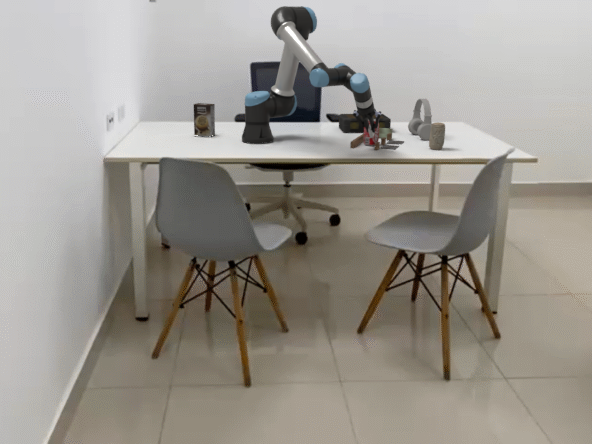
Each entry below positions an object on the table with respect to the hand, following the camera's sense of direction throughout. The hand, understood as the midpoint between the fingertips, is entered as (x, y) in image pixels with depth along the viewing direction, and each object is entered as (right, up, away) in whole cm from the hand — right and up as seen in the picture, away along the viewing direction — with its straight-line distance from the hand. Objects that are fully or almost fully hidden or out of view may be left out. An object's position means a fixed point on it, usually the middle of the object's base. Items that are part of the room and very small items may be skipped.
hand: (372, 135), depth 308 cm
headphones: (+28, +3, +28) cm, 40 cm away
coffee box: (-81, +3, +26) cm, 85 cm away
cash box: (+1, +9, +48) cm, 48 cm away
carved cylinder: (+29, -7, -2) cm, 30 cm away
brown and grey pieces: (+4, -3, +9) cm, 11 cm away
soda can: (0, -4, +6) cm, 7 cm away
